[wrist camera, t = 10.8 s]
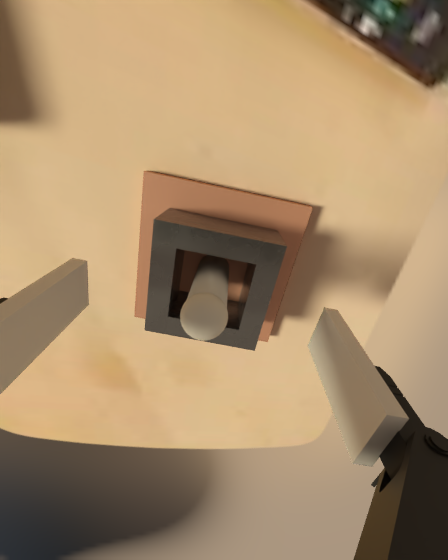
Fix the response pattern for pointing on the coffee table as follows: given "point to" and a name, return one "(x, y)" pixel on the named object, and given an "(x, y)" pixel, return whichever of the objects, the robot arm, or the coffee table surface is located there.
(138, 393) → the coffee table surface
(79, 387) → the coffee table surface
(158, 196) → the brown base with peg
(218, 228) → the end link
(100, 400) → the coffee table surface
